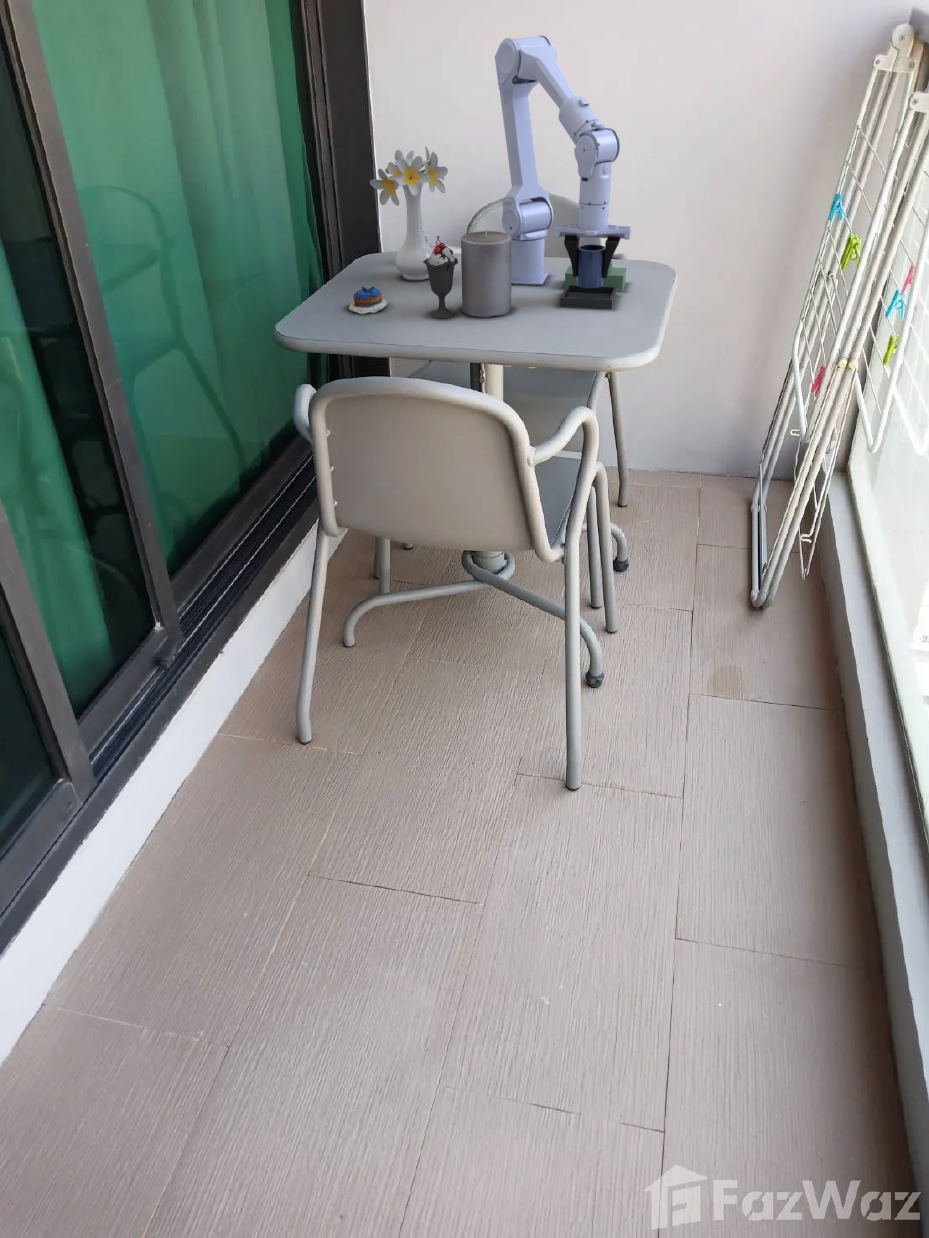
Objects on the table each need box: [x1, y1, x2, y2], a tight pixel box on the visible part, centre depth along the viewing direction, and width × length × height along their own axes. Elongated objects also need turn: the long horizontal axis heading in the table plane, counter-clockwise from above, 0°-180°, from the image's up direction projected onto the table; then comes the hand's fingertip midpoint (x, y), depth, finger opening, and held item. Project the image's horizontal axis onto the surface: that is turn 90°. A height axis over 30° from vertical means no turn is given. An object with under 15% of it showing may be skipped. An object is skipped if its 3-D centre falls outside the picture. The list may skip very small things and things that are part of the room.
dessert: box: [348, 285, 388, 315], centre depth 180 cm, size 8×7×6 cm
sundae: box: [423, 235, 459, 319], centre depth 172 cm, size 7×7×15 cm
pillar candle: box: [460, 229, 512, 318], centre depth 173 cm, size 10×10×15 cm
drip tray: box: [559, 285, 618, 310], centre depth 180 cm, size 10×9×2 cm
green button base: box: [564, 260, 627, 293], centre depth 188 cm, size 12×6×5 cm, turn 76°
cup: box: [576, 243, 605, 288], centre depth 177 cm, size 5×5×7 cm
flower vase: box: [369, 145, 449, 281], centre depth 190 cm, size 13×18×25 cm
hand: (590, 276), depth 178 cm, fingers closed on cup, 5 cm apart
